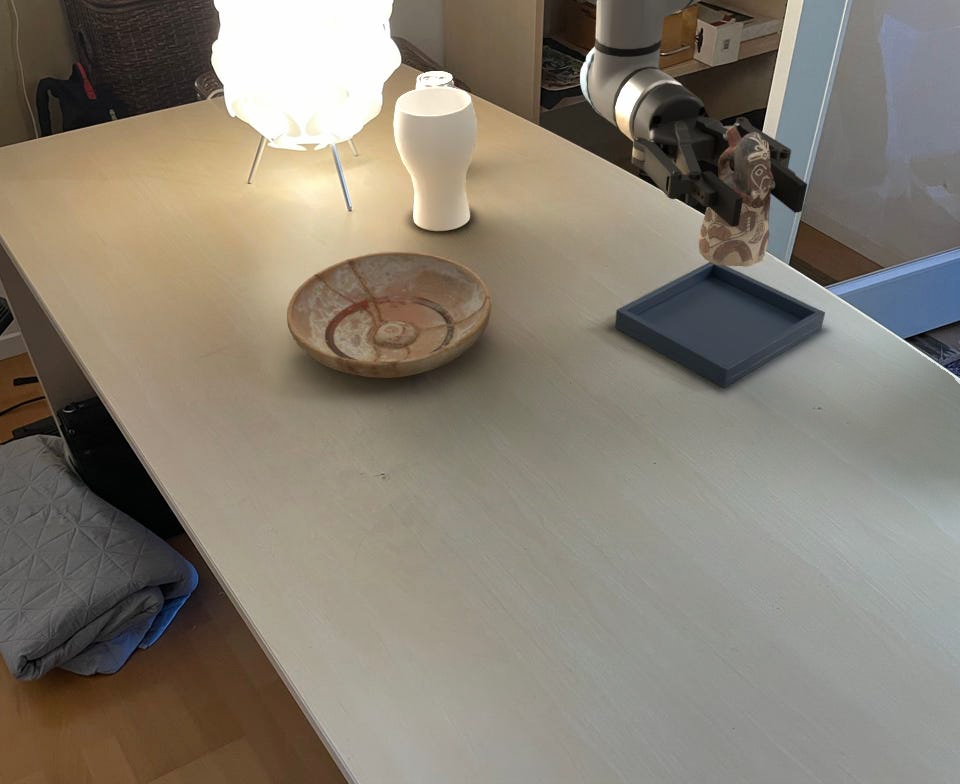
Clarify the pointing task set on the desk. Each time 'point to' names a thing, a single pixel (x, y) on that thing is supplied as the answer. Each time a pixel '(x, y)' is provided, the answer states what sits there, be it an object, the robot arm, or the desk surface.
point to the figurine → (754, 187)
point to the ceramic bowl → (389, 313)
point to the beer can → (434, 80)
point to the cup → (437, 152)
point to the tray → (719, 322)
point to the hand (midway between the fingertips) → (769, 205)
